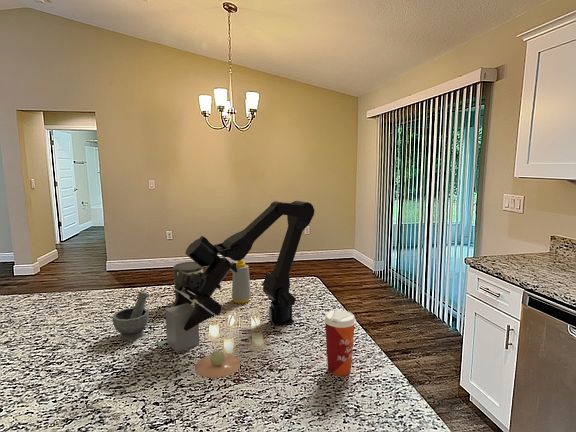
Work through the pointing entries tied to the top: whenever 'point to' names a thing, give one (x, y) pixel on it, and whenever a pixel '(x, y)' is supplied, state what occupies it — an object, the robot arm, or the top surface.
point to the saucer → (219, 370)
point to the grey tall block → (181, 328)
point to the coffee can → (187, 268)
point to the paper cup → (339, 341)
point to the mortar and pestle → (132, 319)
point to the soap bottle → (241, 283)
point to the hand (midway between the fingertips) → (177, 324)
